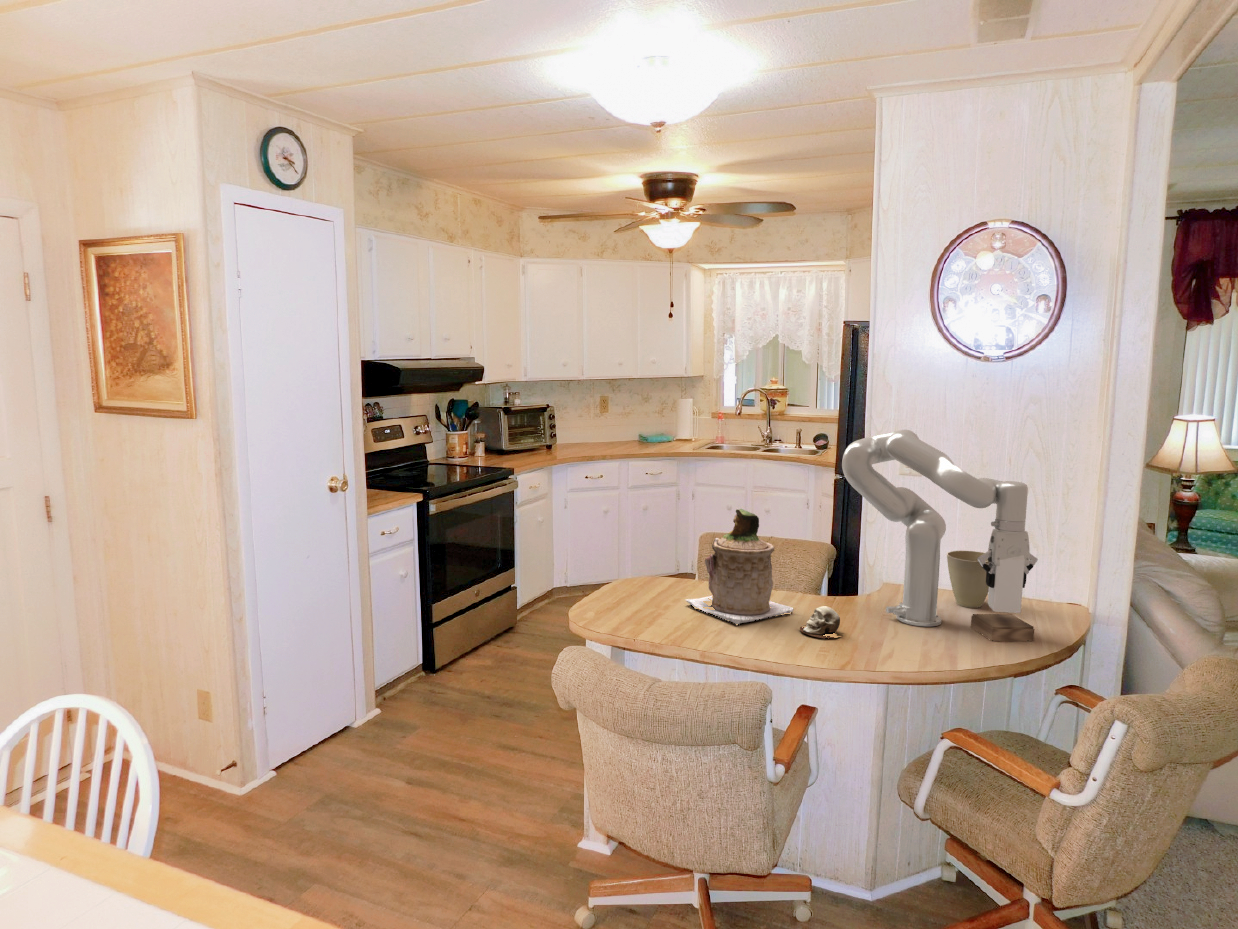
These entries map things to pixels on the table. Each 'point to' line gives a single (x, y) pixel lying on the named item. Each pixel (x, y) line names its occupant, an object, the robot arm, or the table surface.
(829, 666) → the table surface
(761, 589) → the cookie jar
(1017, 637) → the block
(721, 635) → the table surface
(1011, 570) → the milk carton
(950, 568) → the plant pot
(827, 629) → the skull
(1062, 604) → the table surface
